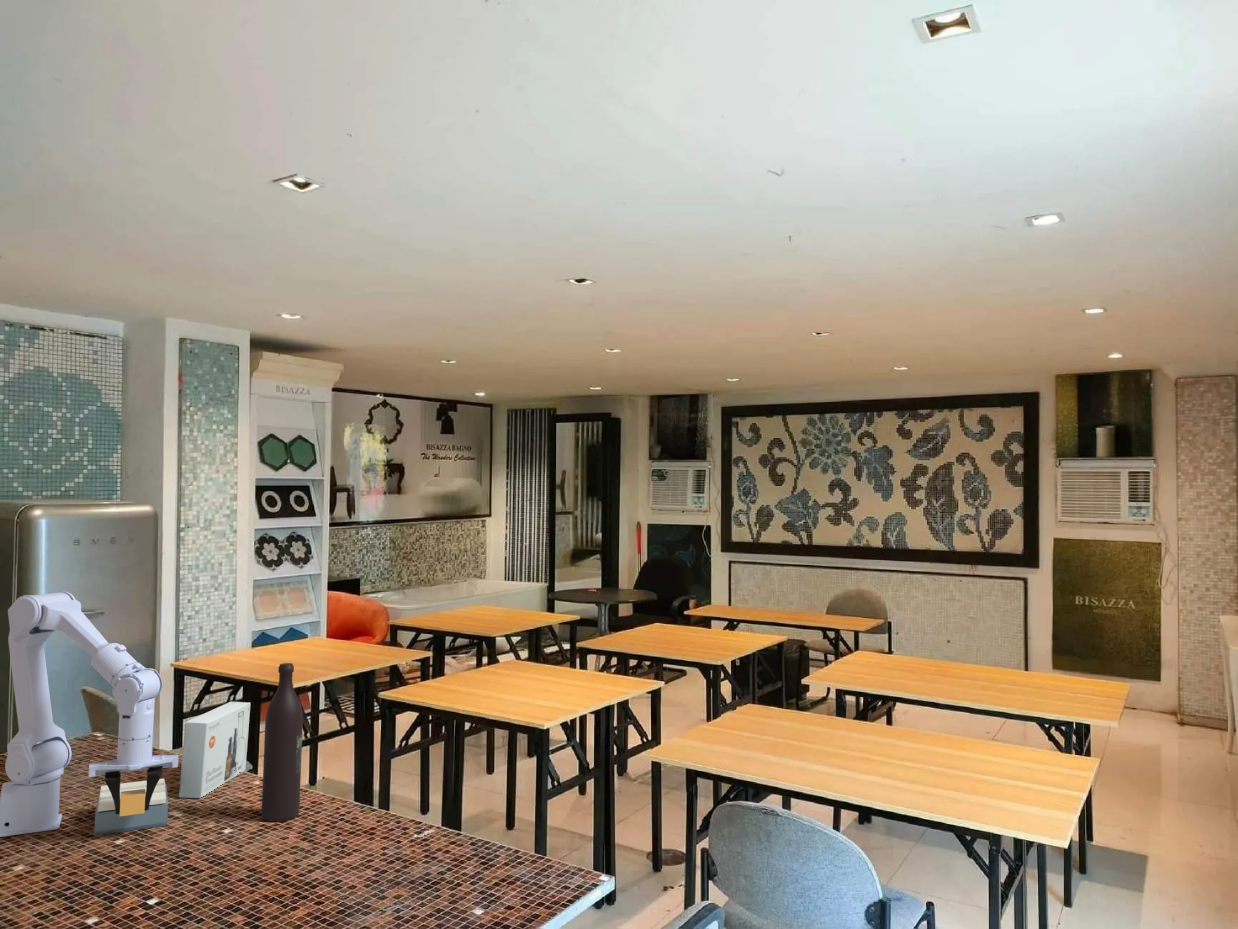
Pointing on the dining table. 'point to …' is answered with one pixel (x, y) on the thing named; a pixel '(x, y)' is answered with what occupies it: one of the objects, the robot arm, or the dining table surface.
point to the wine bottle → (282, 751)
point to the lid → (132, 797)
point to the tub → (130, 819)
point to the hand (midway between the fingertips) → (132, 810)
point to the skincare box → (214, 749)
